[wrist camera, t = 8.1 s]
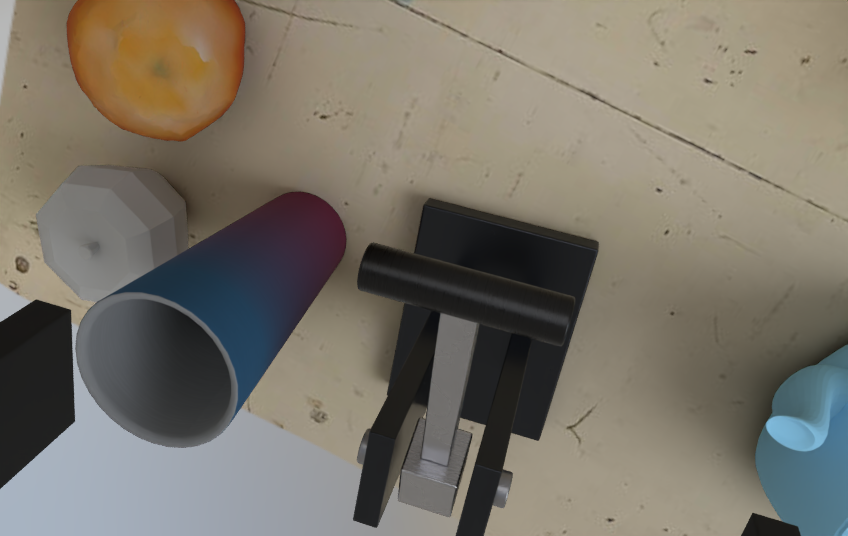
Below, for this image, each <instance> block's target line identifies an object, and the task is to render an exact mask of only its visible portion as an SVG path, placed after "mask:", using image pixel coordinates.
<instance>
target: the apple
mask: <svg viewBox="0 0 848 536" xmlns="http://www.w3.org/2000/svg"><path fill="white" fill-rule="evenodd" d="M36 218H37V224H38V229H39V235H40V240H41V246H42V251H43V257H44V262H45V263H46V264H47V265H48V266H49V267H50V268H51V269H52V270H53V271H54V272H55V273H56V274H57V275H58V276H59V277H60V278H61V279H62V280H63V281H64V282H65V283H66V284H67V285H68V286H69V287H70V288H71V289H72V290H73V291H74V292H75V293H76V294H77V295H78V297H79V298H80V299H81V300H87V301H93V302H98V301H99V300H101V299H103V298H105V297H106V296H108V295H110V294H112V293H113V292H115V291H117V290H118V289H120V288H122V287H124V286H125V285H127V284H129V283H130V282H132V281H134V280H136V279H137V278H139V277H141V276H143V275H144V274H146V273H148V272H149V271H151V270H153V269H155V268H156V267H158V266H160V265H162V264H163V263H165V262H167V261H168V260H170V259H172V258H174V257H175V256H177V255H179V254H180V253H182V252H184V251H186V250H187V249H188V225H187V212H186V202H185V200H184V199H183V198H182V197H181V196H180V195H179V194H178V193H177V192H176V190H175V189H174V188H173V187H172V186H171V185H170V184H169V183H168V182H167V181H166V179H165V178H164V177H163V176H162V175H161V174H159V173H157V172H155V171H153V170H152V169H144V168H134V167H124V166H114V165H86V166H78V167H77V168H76V169H75V170H74V171H73V172H72V173H71V174H70V176H69V177H68V178H67V179H66V180H65V181H64V182H63V183H62V184H61V185H60V187H59V188H58V189H57V190H56V191H55V192H54V194H53V195H52V196H51V197H50V198H49V200H48V201H47V202H46V203H45V204H44V205H43V207H42V208H41V209H40V210H39V211H38V213H37V214H36Z"/></svg>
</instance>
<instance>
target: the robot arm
mask: <svg viewBox="0 0 848 536" xmlns="http://www.w3.org/2000/svg"><path fill="white" fill-rule="evenodd" d="M74 422H75V409H74V382H73V353H72V324H71V310H70V309H66V308H63V307H60V306H56V305H53V304H50V303H46V302H43V301H40V300H35V301H33V302H31V303H30V304H28V305H27V306H25V307H24V308H22V309H21V310H19V311H17V312H16V313H14V314H13V315H11V316H9V317H8V318H6V319H5V320H3V321H2V322H0V489H1V488H2V487H3V486H4V485H5V484H6V483H7V482H8V481H9V480H11V479H12V478H13V477H14V476H15V475H16V474H17V473H18V472H19V471H20V470H22V469H23V468H24V467H25V466H26V465H27V464H28V463H29V462H30V461H32V460H33V459H34V458H35V457H36V456H37V455H38V454H39V453H40V452H41V451H43V450H44V449H45V448H46V447H47V446H48V445H49V444H50V443H51V442H53V441H54V440H55V439H56V438H57V437H58V436H59V435H60V434H61V433H63V432H64V431H65V430H66V429H67V428H68V427H69V426H70V425H71V424H73V423H74ZM741 536H801V535H800V531H799V528H798V526H795V525H792V524H788V523H785V522H782V521H778V520H775V519H772V518H768V517H765V516H762V515H758V514H755V513H752V515H751V517H750V519H749V521H748V523H747V525H746V527H745V529H744V531H743V533H742V535H741Z"/></svg>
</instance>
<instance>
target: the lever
mask: <svg viewBox="0 0 848 536" xmlns="http://www.w3.org/2000/svg"><path fill="white" fill-rule="evenodd" d="M357 284H358V289H359V290H361V291H364V292H368V293H371V294H375V295H378V296H382V297H385V298H389V299H393V300H396V301H400V302H403V303H407V304H410V305H414V306H418V307H421V308H425V309H428V310H432V311H435V312H439V313H440V320H439V327H438V334H437V341H436V348H435V356H434V363H433V370H432V377H431V384H430V391H429V399H428V406H427V413H426V419H424V418H419V419H418V421H417V424H416V427H415V430H414V433H413V436H412V439H411V442H410V444H409V447H408V450H407V453H406V456H405V459H404V462H403V465H402V467H401V473H400V483H399V494H398V501H399V502H403V503H406V504H409V505H412V506H415V507H418V508H421V509H425V510H428V511H431V512H434V513H437V514H440V515H443V516H446V517H450V516H451V513H452V510H453V506H454V503H455V499H456V496H457V492H458V489H459V485H460V482H461V478H462V475H463V471H464V468H465V464H466V460H467V456H468V452H469V447H470V443H471V439H472V433H470V432H467V431H464V430H460V429H458V426H459V421H460V416H461V411H462V407H463V402H464V397H465V392H466V387H467V383H468V378H469V373H470V368H471V363H472V359H473V354H474V349H475V344H476V339H477V335H478V330H479V325H480V324H482V325H485V326H489V327H492V328H496V329H499V330H503V331H507V332H510V333H514V334H517V335H521V336H524V337H528V338H531V339H535V340H539V341H542V342H546V343H549V344H553V345H556V346H562V345H563V344H564V341H565V339H566V336H567V332H568V329H569V325H570V322H571V318H572V314H573V310H574V305H575V298H574V297H573V296H570V295H566V294H562V293H558V292H555V291H551V290H547V289H544V288H540V287H536V286H533V285H529V284H525V283H522V282H518V281H514V280H510V279H507V278H503V277H499V276H496V275H492V274H488V273H485V272H481V271H477V270H474V269H470V268H466V267H462V266H459V265H455V264H451V263H448V262H444V261H440V260H437V259H433V258H429V257H426V256H422V255H418V254H414V253H411V252H407V251H403V250H400V249H396V248H392V247H389V246H385V245H381V244H378V243H374V242H373V243H370V244H369V246H368V247H367V249H366V251H365V253H364V255H363V258H362V261H361V264H360V268H359V273H358V280H357Z"/></svg>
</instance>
